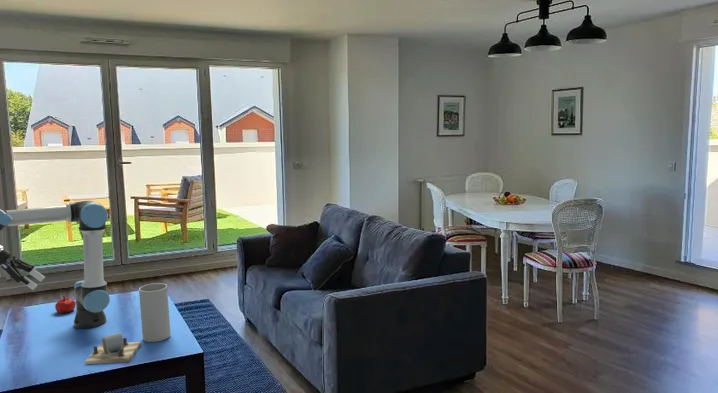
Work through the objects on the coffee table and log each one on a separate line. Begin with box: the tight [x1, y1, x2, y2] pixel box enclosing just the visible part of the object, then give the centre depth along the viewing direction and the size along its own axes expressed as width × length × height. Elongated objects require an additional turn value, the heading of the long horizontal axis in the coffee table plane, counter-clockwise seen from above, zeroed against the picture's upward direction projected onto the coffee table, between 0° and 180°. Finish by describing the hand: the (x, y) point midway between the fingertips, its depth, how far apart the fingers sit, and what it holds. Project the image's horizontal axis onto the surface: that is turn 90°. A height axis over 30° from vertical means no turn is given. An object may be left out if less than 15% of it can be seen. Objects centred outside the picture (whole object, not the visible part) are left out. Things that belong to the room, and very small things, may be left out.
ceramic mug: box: [101, 331, 124, 356], centre depth 240 cm, size 11×8×8 cm
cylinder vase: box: [138, 282, 171, 343], centre depth 259 cm, size 12×12×25 cm
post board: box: [85, 337, 142, 365], centre depth 242 cm, size 18×18×4 cm
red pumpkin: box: [54, 294, 76, 314], centre depth 301 cm, size 10×10×9 cm
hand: (39, 283), depth 247 cm, fingers open, 13 cm apart
